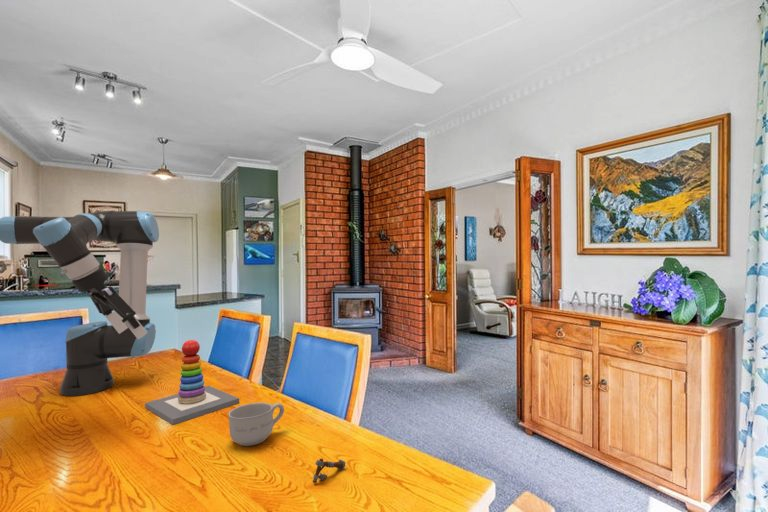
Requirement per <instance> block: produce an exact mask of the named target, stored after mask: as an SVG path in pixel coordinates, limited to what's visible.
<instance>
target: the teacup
mask: <svg viewBox="0 0 768 512" xmlns="http://www.w3.org/2000/svg"><path fill="white" fill-rule="evenodd" d="M277 408H279V412H278V413H277V415H276V416H275V417H274V413H275V412H274V411H275V410H276V409H277ZM284 413H285V408H284V405H283V404H282V403H280V402H276V403H274V404H271V403H269V402H268V403H267V402H252V403H247V404H242V405H240V406H237V407H235V408H232V409H231V410H229V412H228V414H227V416H228V424H229V425H228V426H229V436H230V439H231V440H232V442H235V443H237V444H238V445H239V446H243V447H249V446H250V447H252V446H255V445H258V444H261V443H263V442H265V440H266V439H267V438H268V437H269V436H270V435H271V433H272V432H273V428H274V426H275V424H277V422H279V420H281V418H282V417H283V416H284Z"/></svg>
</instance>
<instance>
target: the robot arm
mask: <svg viewBox="0 0 768 512" xmlns="http://www.w3.org/2000/svg"><path fill="white" fill-rule="evenodd" d="M159 231H160V230H159V225H158V222H157V219H156V217H155V216H154V214H153V213H152V212H150V211H142V210H141V211H140V210H121V211H119V210H115V211H114V210H103V211H102V210H101V211H96V212H87V213H85V212H84V213H79V214H78V213H77V214H76V215H70V216H69V215H68V216H67V215H65V216H64V215H63V216H59V215H58V216H57V215H56V216H55V215H54V216H50V215H47V216H41V215H40V216H36V215H35V216H29V215H28V216H27V215H26V216H25V215H24V216H23V215H21V216H20V215H19V216H17V215H13V216H12V215H11V216H2V217H0V242H2V243H3V244H12V245H32V244H33V245H37V244H38V245H40V246H42V247H43V248H44V250H45V251H46V252H47V253H48V255H49V256H50V257H51V258H52V259H53V260H54V261H55V262H56V264H57V265H58V267H59V268H60V269H61V271H60V273H61V275H66V277H67V278H68V279H69V280H72V281H71V283H72V284H73V286H74V287H75V288H76V289H77V291H78V292H80V293H87V294H88V297H89V298H90V299H91V301H92V303H93V304H94V306H95V308H96V309H97V310H98V312H99V314H100V315H101V314H102V315H103V316H104V317H105V318H106V319H107V320H105V321H103V320H101V321H96V322H89V323H85V324H83V323H82V324H80V325H76V326H72V327H70V328H68V329H67V330H66V337H65V341H64V342H65V352H66V353H65V354H66V355H65V360H66V364H65V365H66V370H65V374H64V376H63V379H62V382H61V384H60V388H59V394H60V395H61V396H63V397H65V396H66V397H76V396H78V397H79V396H85V395H90V394H95V393H99V392H102V391H106V390H108V389H110V388H112V387H113V386H114V384H115V383H114V375H113V374H112V372H111V369H110V366H109V364H108V359H113V358H115V359H117V358H130V357H131V358H135V357H141V356H145V355H147V354H149V353H150V352H151V350H152V349H153V348H152V347H153V345H154V343H155V339H156V335H157V334H156V333H157V332H156V325H155V324H154V323H152V322H151V318H150V317H149V316H148V315H147V314H146V310H147V285H148V283H147V282H148V258H149V257H148V254H149V251H150V250H151V249H152V248H153V247H154V246H153V243H156V242H158V241H159V237H160V232H159ZM91 241H94V242H95V241H96V242H107V243H115V246H116V247H117V248H118V249H119V250H120V258H119V259H120V261H119V281H118V293H117V292H116V291H115V289H114V288H113V286H111V285H110V286H106V285H105V282H107V281H108V279H109V275H108V273H107V272H106V271H105V269H104V268H103V267H102V266H100V262H99V261H98V259H96V257H95V255H93V253H92V252H91V251H90V249H89V248H88V247H87V246H86V245H87V244H89V243H90V242H91ZM107 321H108V322H109V323H110V325H108V322H107Z"/></svg>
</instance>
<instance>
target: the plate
mask: <svg viewBox="0 0 768 512" xmlns="http://www.w3.org/2000/svg"><path fill="white" fill-rule="evenodd" d="M204 387H205V391H204V392H206V397H205V398H204V399H203V400H201V401H199V402H195V403H190V404H184V403H180V402H179V401H178V397H179V394H178V393H177V394H173V395H169V396H166V397H162V398H158V399H154V400H150V401H147V402H144V403H145V404H144V408H145V409H147V410H148V411H150V412H151V413H153V414H155V415H156V416H158V417H160V418H161V419H162V420H164V421H166V422H168V423H169V424H171V425H173V426H174V425H177V424H180V423H182V422H183V423H184V422H186V421H188V420H192V419H195V418H198V417H201V416H204V415H208V414H210V413H214V412H216V411H219V410H222V409H226V408H229V407H231V406H235V405H237V404H240V398H239V397H237V396H234V395H232V394H230V393H227V392H225V391H223V390H220V389H218V388H215V387H214V386H211V385H206V386H205V385H204Z"/></svg>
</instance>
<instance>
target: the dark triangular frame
mask: <svg viewBox="0 0 768 512" xmlns="http://www.w3.org/2000/svg"><path fill="white" fill-rule="evenodd" d="M346 463H347V462H346V461H344V460H342V459H339V460H338V461H335V462H333V461H328V460H326V461H324V459H323V458H319V459H316V461H315V465H316V466H317V467H316V468H315V469H316V470H315V473H314V474H313V479H312V483H314V484H317V481H318V480H321V481H323V480H326V479H327V478H328V475H327V474H326V473H321V471H322V470H323V469H324V468H328V469H329V468H330V469H331V468H332V469H334V468H336V469H337V470H338V469H339V470H340V471H345V466H346Z"/></svg>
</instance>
